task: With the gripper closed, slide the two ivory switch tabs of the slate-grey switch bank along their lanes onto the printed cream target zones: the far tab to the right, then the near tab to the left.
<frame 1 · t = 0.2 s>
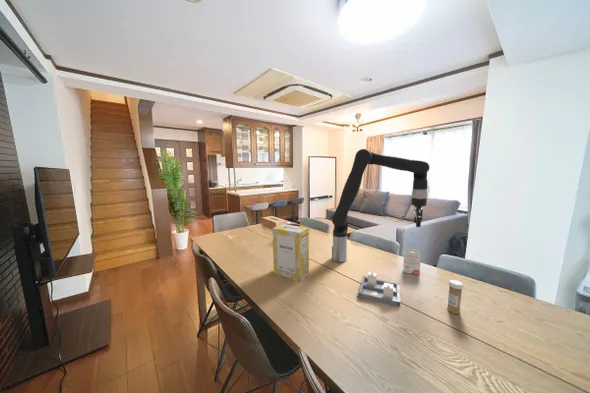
hand: (417, 224, 122), 29 cm above the table, fingers open, 8 cm apart
switch bank: (379, 292, 106), on the table
pasta box: (291, 273, 127), on the table
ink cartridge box: (411, 272, 127), on the table
tab near: (388, 290, 100), point 5 cm above the table, slide at 0.0 cm
tab far: (372, 278, 111), point 5 cm above the table, slide at 0.0 cm
sprinkles bottle: (453, 311, 92), on the table
plant pot: (292, 240, 184), on the table
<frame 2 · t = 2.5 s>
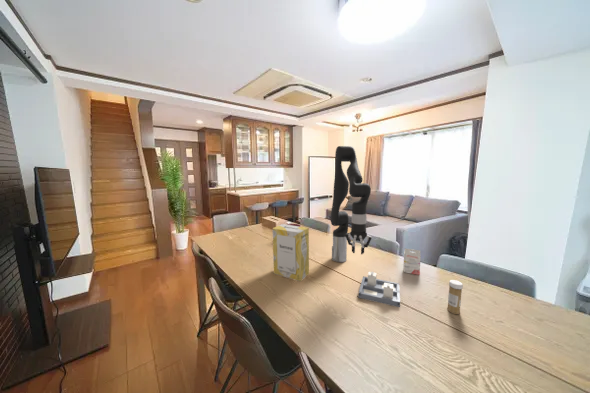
hand: (357, 253, 113), 17 cm above the table, fingers open, 3 cm apart
nothing on the table moved.
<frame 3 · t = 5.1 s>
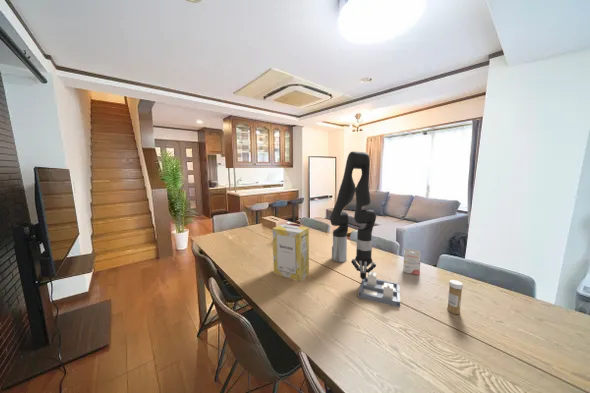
hand: (363, 278, 113), 4 cm above the table, fingers closed
tab far: (372, 278, 111), point 5 cm above the table, slide at 0.0 cm, touching gripper
everything else where it was.
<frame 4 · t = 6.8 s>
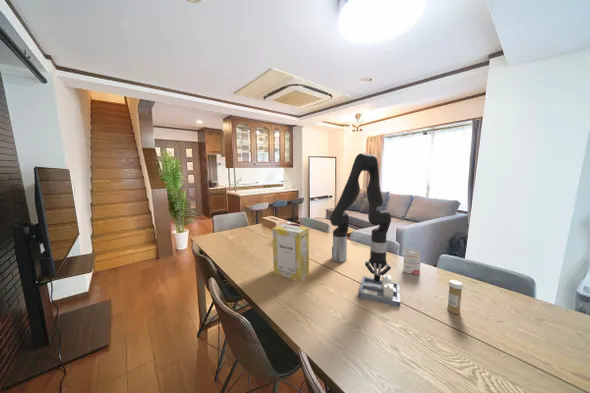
hand: (377, 281, 110), 4 cm above the table, fingers closed
tab far: (386, 281, 108), point 4 cm above the table, slide at 7.0 cm, touching gripper
everything else where it was.
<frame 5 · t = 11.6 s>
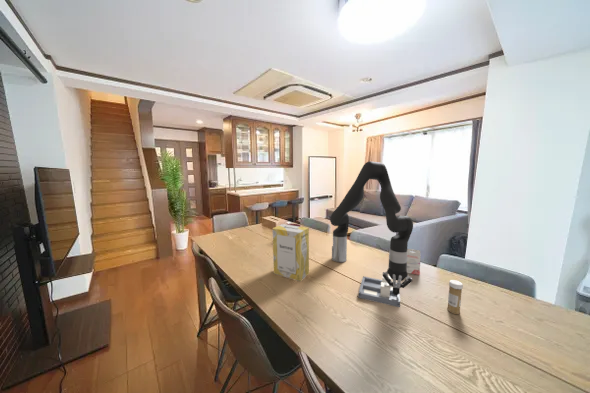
hand: (395, 294, 99), 3 cm above the table, fingers closed
tab near: (385, 289, 101), point 4 cm above the table, slide at 1.4 cm, touching gripper
tab far: (386, 281, 108), point 4 cm above the table, slide at 7.0 cm
everything else where it was.
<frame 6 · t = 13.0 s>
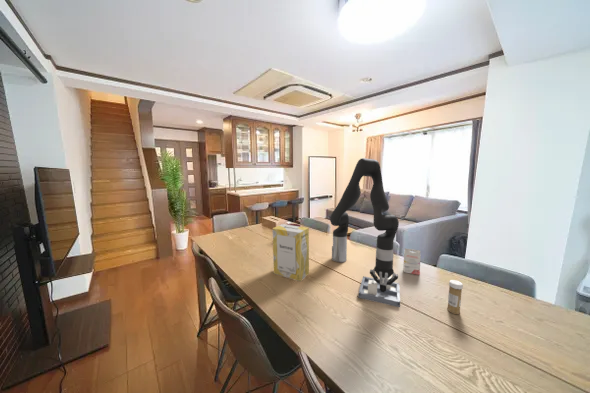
hand: (382, 291, 101), 3 cm above the table, fingers closed
tab near: (372, 287, 103), point 5 cm above the table, slide at 7.0 cm, touching gripper
everything else where it was.
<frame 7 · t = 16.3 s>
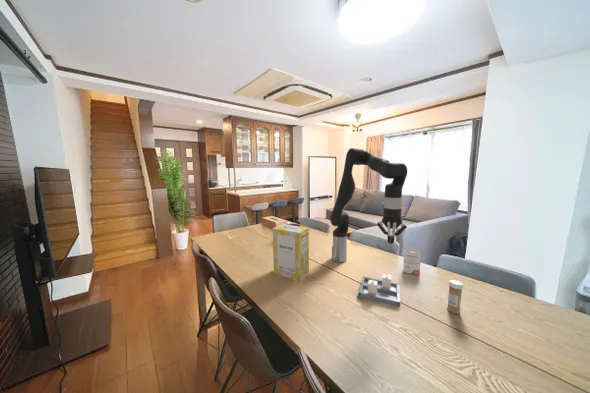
hand: (390, 243, 99), 27 cm above the table, fingers closed
tab near: (372, 287, 103), point 5 cm above the table, slide at 7.0 cm
everything else where it was.
at the end: tab far slide at 7.0 cm; tab near slide at 7.0 cm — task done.
